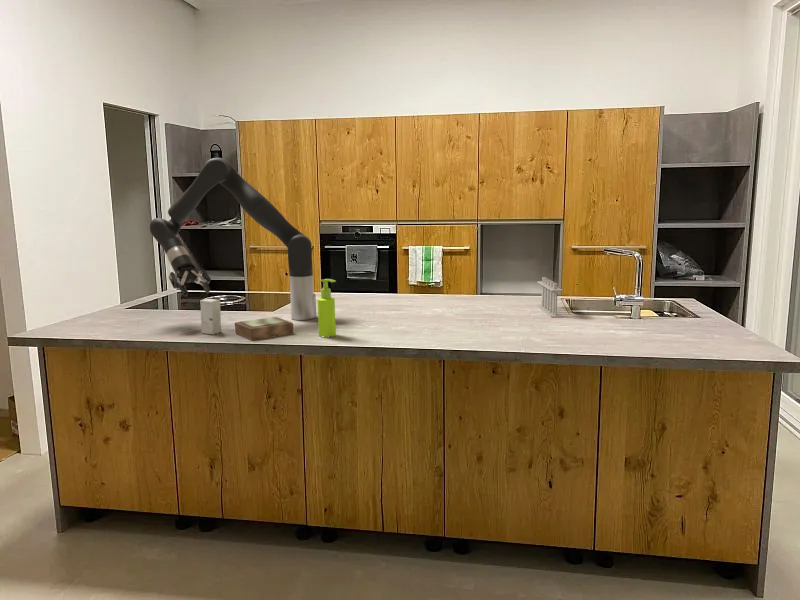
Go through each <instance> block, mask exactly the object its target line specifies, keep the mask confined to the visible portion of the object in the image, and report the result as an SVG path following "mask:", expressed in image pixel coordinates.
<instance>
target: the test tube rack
mask: <svg viewBox="0 0 800 600" xmlns="http://www.w3.org/2000/svg"><path fill="white" fill-rule="evenodd" d="M541 280H542V281H541ZM541 280H540V281H536V283H537V284H539V285H541V303H540V304H536V305H535V307H536V308H538V309H539V310H540V309H541V310H540V311H541V312H543V313H544V314H545V313H546V314H545V315H547V316H548V317H549V318H550V319H554V318H555V319H556V318H557V319H562V318H563V315H562V314H560V313H559V312H558V293H559V292H563V291H564V290H563V289H562V288H560V287H559V286H558V283H557V282H555V281H552V279H550V278H547V276H544V277H543V276H542V278H541Z"/></svg>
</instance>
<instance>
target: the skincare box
mask: <svg viewBox="0 0 800 600" xmlns="http://www.w3.org/2000/svg"><path fill="white" fill-rule="evenodd" d="M199 303H200V322H201V323H200V327H201V330H200V331H201V333H202V334H208V335H216V334H215V333H217V334H220V333H221V332H222V319H221V317H222V315H221V313H222V312H221V311H222V310H221V300H220V299H214V298H204V299H201V300H200V302H199ZM219 332H220V333H219Z"/></svg>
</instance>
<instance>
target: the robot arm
mask: <svg viewBox="0 0 800 600" xmlns="http://www.w3.org/2000/svg"><path fill="white" fill-rule="evenodd" d="M218 184H219V185H221V186H222V187H224V188H225V189H226V190H227V191H228V192H229V193H230V194H232V195H233V197H234V198H235V200H236V201H237V202H238V203H239V205H240V207H241V208H242V210H243V211H244V212H245V214H247V215H248V216H249V217H250V218H251V219H253V220H254V221H255V222H256V223H257V224H259V225H260V226H261V227H262V228H264V229H265V230H267V231H269V232H270V233H271V234H273V235H274V236H276V237H277V238H278V239H279V240H280V241H281V242H282V243H283V244H284V245H285V247H286V248H287V262H288V264H287V265H288V274H289V276H288V277H289V293H290V294H289V296H290V318H291V319H292V320H296V321H305V320H307V321H308V320H312V319H315V318H317V296H316V294H315V292H314V270H313V248H312V247H313V245H312V241H311V239H310V238H309V237H308V236H307V235H306V234H303V233H302V232H301V231H300V230H298V229H297V228H296V227H295V226H293V225H292V224H291V223H290V222H289V221H288V220H287V218H285V217H284V216H283V214H282V213H281V212H280V211H279V210H278V209H277V208H276V207H275V206H274V205H273V204H272V202H271V201H269V199H267V198H266V197H265V195H262V193H260V192H259V191H258V190H257V189H256V188H255V187H253V186H252V185H251V184H250V183H249V182H247V181H246V180H245V179H244V178H243V177H242V176H241V175H240V174H239V173H238V171H237V170H236V169H235V167H233V166H232V165H231V163H230V162H229V161H228V160H226V159H225V158H222V157H213V158H210V159H208V160H206V162H205V164H204V166H203V167H202V168H201V170H200V171H199V173H198V174H197V176H196V177H195V179H194V180H193V182H192V183H191V185H189V187H188V188H186V190H185V191H184V192H183V193H182V194H181V195H180V196H179V197H178V198H177V199H176V200H175V201H174V203H173V204H172V205H171V206H170V207H169V208H168V210H167V214H168V216H169V217H170V219H169V220H167V219H164V218H161V217H156V218H155V217H154V219H152V220H151V221H150V223H149V231H150V234H151V235H152V237H153V238H154V239H155V241H156V242H157V243H158V244H159V245H160V246H161V247H162V250H163V251H164V253H165V256H166V257H167V260H168V262H169V264H170V266H171V268H172V270H173V271H170V274H169V275H168V279H169V281H170V284H171V286H172V288H173V289H179V290H180V293H181V294H182V296H184V297H189V296H188V295H189V291H188V288H187V287H186V285H185V283H186V284H189V283H196V284H197V285H198V284H199V285H201V286H202V288H203V290H204V292H205V294H210V291H211V287H210V285H209V284H210V282H211V281H212V279H211V277H210V275H209V274H208V272H207V271H206V269H205V268H201V270H198V269H196V267H195V264H194V261H193V259H192V257H191V256H190V254H189V252H188V250H186V248H185V247H184V244H183V242H182V241H181V239H180V238H179V237H177V235H178V234H179V232H180V230H181V228H182V227H183V224H184V222H185V221H186V220H187V218H188V217H190V215H191V214H192V213H193V212H194V210H196V208H197V207H198V206H199V204H200V202H201V201H202V199H203V198H204V197H205V196H206V194H208V192H209V191H210V190H212V189H213V188H214V187H216V186H217V185H218ZM177 279H179V281H180V282H178V280H177Z"/></svg>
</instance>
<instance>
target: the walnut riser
mask: <svg viewBox="0 0 800 600" xmlns="http://www.w3.org/2000/svg"><path fill="white" fill-rule="evenodd" d="M234 332H235V333H236V335H238V336H240V337H242V336H243V337H242V338H244V337H245V338H244V339H247V340H249V341H256V339H257V340H262V338H264V339H268V338H267V337H270V338H273V336H276V337H280V336H279V335H282V336H286V335H285V334H288V335H292V334H291V333H293V334H294V322H292V321H289V320H286V319H283V318H280V317H277V316H271V317H270V316H269V317H264V318H257V319H249V320H244V321H236V322H234Z"/></svg>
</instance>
